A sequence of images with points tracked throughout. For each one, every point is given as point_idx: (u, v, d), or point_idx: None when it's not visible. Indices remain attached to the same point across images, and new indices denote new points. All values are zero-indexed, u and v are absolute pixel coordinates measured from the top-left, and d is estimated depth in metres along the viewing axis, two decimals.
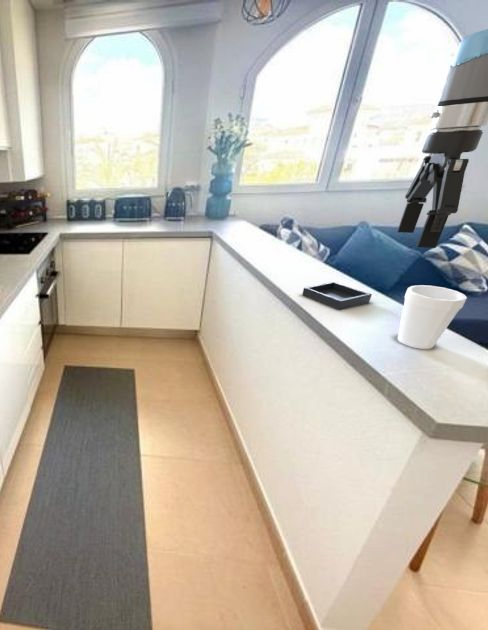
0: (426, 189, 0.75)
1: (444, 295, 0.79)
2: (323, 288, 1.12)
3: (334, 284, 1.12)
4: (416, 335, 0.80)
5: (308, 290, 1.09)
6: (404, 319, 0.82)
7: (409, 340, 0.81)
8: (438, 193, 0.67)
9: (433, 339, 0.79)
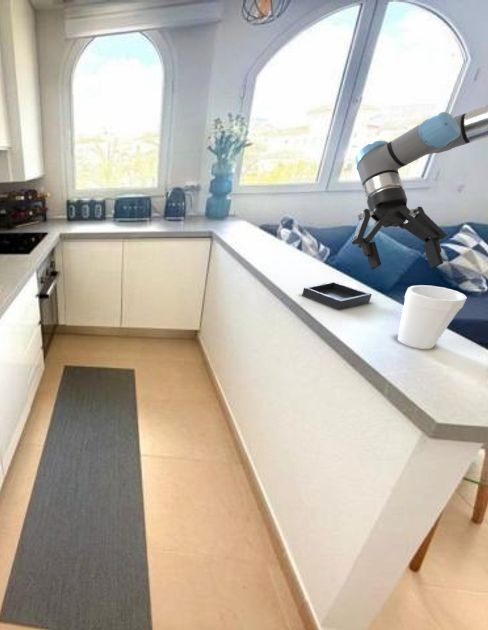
0: (417, 230, 0.88)
1: (444, 295, 0.79)
2: (323, 288, 1.12)
3: (334, 284, 1.12)
4: (416, 335, 0.80)
5: (308, 290, 1.09)
6: (404, 319, 0.82)
7: (409, 340, 0.81)
8: (367, 233, 0.90)
9: (433, 339, 0.79)
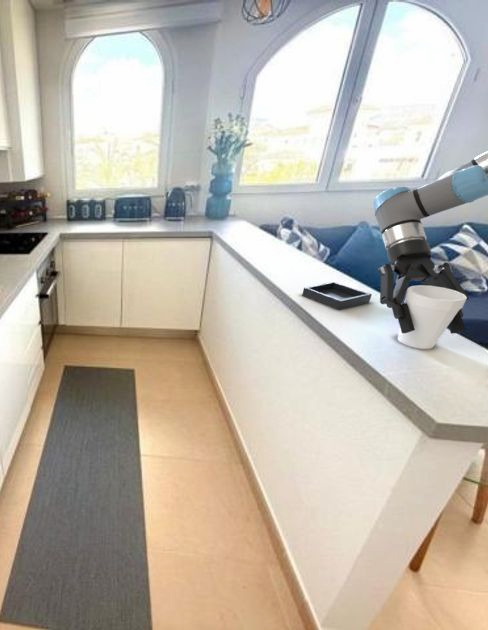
0: None
1: (444, 295, 0.79)
2: (323, 288, 1.12)
3: (334, 284, 1.12)
4: (416, 335, 0.80)
5: (308, 290, 1.09)
6: None
7: (409, 340, 0.81)
8: (394, 290, 0.83)
9: (433, 339, 0.79)
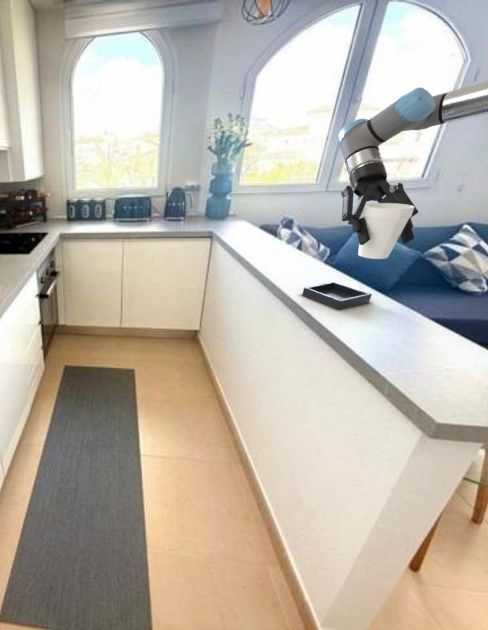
0: None
1: None
2: (323, 288, 1.12)
3: (334, 284, 1.12)
4: (372, 246, 0.90)
5: (308, 290, 1.09)
6: None
7: (367, 252, 0.91)
8: (354, 209, 0.93)
9: (386, 249, 0.89)
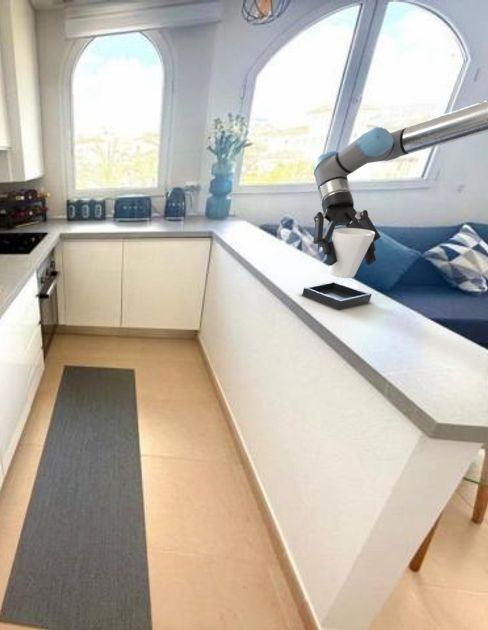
0: None
1: (361, 235, 1.00)
2: (323, 288, 1.12)
3: (334, 284, 1.12)
4: (339, 266, 1.01)
5: (308, 290, 1.09)
6: None
7: (335, 271, 1.02)
8: None
9: (352, 269, 1.00)
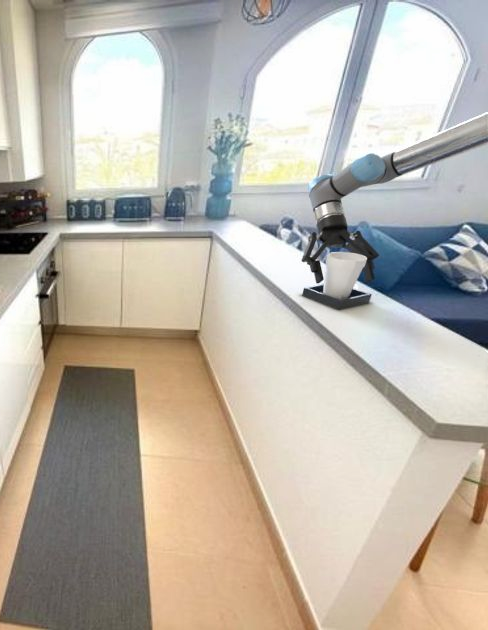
0: (355, 250, 1.04)
1: (354, 259, 1.03)
2: None
3: None
4: (333, 289, 1.04)
5: (308, 290, 1.09)
6: (325, 278, 1.05)
7: (329, 294, 1.05)
8: (315, 252, 1.07)
9: (345, 292, 1.03)
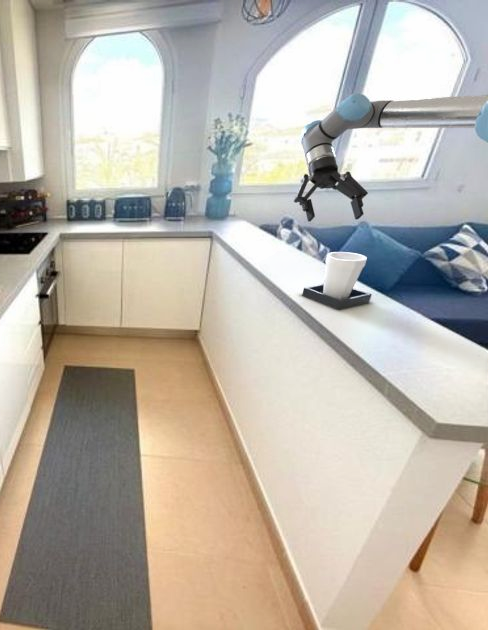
0: (345, 190, 1.09)
1: (354, 259, 1.03)
2: None
3: None
4: (333, 289, 1.04)
5: (308, 290, 1.09)
6: (325, 278, 1.05)
7: (329, 294, 1.05)
8: None
9: (345, 292, 1.03)
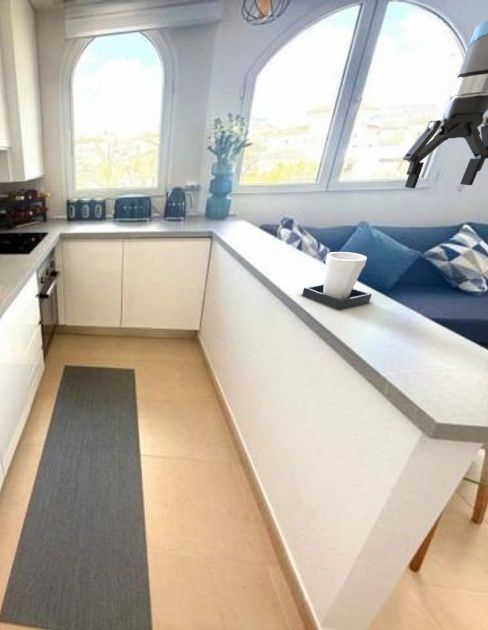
0: (474, 145, 0.90)
1: (354, 259, 1.03)
2: None
3: None
4: (333, 289, 1.04)
5: (308, 290, 1.09)
6: (325, 278, 1.05)
7: (329, 294, 1.05)
8: (425, 146, 0.92)
9: (345, 292, 1.03)
